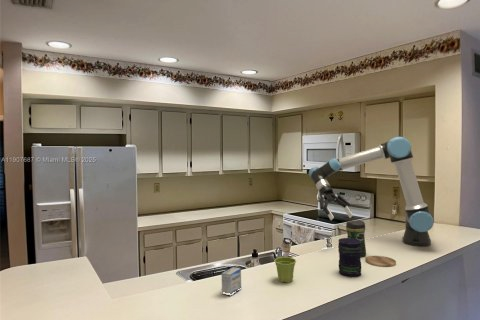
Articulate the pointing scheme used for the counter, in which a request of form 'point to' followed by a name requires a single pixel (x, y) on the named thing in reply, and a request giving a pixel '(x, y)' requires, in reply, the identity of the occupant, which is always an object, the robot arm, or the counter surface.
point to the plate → (380, 261)
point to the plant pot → (285, 268)
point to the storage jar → (349, 257)
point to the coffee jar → (357, 233)
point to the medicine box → (231, 280)
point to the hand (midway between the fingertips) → (342, 217)
